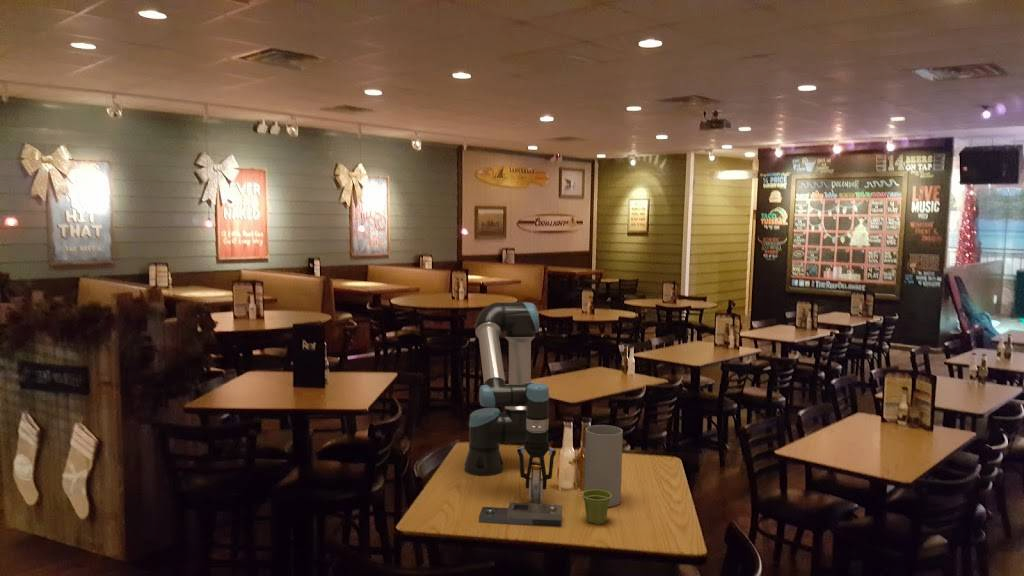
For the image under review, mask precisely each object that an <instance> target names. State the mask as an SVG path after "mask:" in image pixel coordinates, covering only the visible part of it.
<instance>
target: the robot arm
mask: <svg viewBox="0 0 1024 576" xmlns="http://www.w3.org/2000/svg"><path fill="white" fill-rule="evenodd" d="M538 313H539V311H538V308H537V306H536V305H535V304H534V303H532V302H525V301H522V302H521V301H520V302H519V301H518V302H501V301H500V302H494V303H493V302H492V303H490V304H488V305H487V306H485V307H484V308H483V309H482V310H481V312H479V314H478V316H477V318H476V320H475V324H474V331H475V332H474V333H475V336H476V338H478V344H479V352H480V360H481V361H480V362H481V368H482V369H481V370H482V378H483V384H482V385H480V386H479V392H478V397H479V399H478V401H479V404H480V406H481V407H483V408H480V409H476V410H474V411H472V413H470V415H469V422H468V426H469V437H468V438H469V439H468V441H469V443H468V444H469V445H468V447H469V448H468V452H467V455H466V458H465V462H464V471H465V472H466V473H468V474H470V475H474V476H493V475H498V474H500V473H503V471H504V468H505V467H504V461H503V458H502V455H501V451H500V444H501V443H502V444H503V443H504V444H505V443H508V444H509V443H522V444H523V443H524V445H523V446H521V447H520V446H519V447H518V448H517V450H516V452H517V455H518V457H519V458H518V460H519V472H520V478H522V479H525V489H526V490H528V500H531V486H532V477H531V474H532V468H531V464H532V462H534V459H535V458H537V459H539V462H540V464H541V484H540V500H541V501H543V500H544V499H543V498H544V490H546V489H547V481H548V480H552V477H553V469H554V459H555V456H556V454H557V449H556V448H551V447H550V445H549V431H548V430H549V408H550V406H549V404H550V388H549V386H548V385H547V384H544V383H540V382H539V383H535V382H533V381H532V377H531V375H532V369H531V368H532V364H531V363H532V341H533V340H534V339H535V337H536V336H535V334H537V333H539V332H540V318H539V314H538ZM501 333H504V338H505V339H506V340H507V341H508V384H506V379H505V371H504V363H503V357H502V356H503V355H502V350H501V342H500V335H501ZM499 407H500V408H501V407H504V411H501V410H500V409H499ZM525 451H526V453H527V454H528V456H529V458H528V464H527V469H526V470H525V460H524V459H525V456H524V455H525ZM547 453H548V454H549V456H550V457H549V465H548V474H547V470H546V462H545V455H546V454H547ZM525 471H526V472H525Z"/></svg>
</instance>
